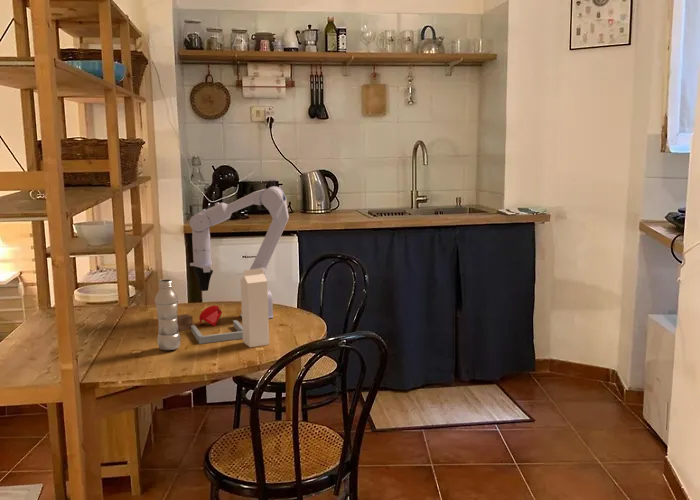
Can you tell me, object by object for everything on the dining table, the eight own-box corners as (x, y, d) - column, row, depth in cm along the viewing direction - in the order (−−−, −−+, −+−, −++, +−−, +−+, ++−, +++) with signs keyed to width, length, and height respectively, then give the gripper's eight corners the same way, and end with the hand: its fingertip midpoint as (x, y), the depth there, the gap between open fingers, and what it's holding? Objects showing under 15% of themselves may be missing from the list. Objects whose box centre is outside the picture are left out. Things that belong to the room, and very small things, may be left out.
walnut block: (187, 326, 220) (186, 313, 219) (193, 328, 217) (192, 316, 216) (175, 328, 217) (175, 316, 217) (181, 331, 214) (180, 318, 214)
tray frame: (237, 326, 219) (236, 320, 218) (248, 337, 206) (247, 331, 206) (191, 331, 213) (191, 325, 213) (199, 344, 201) (199, 337, 200)
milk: (242, 342, 202) (239, 268, 198) (262, 339, 205) (259, 266, 201) (250, 347, 197) (246, 272, 193) (270, 344, 199) (266, 269, 196)
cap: (223, 310, 225) (207, 302, 224) (225, 309, 219) (208, 300, 219) (211, 332, 223) (195, 323, 222) (212, 331, 217) (195, 322, 217)
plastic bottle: (160, 354, 192) (156, 284, 188) (155, 347, 198) (151, 279, 194) (183, 350, 195) (180, 281, 191) (177, 344, 200) (174, 277, 197)
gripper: (185, 247, 231) (187, 286, 233) (193, 253, 217) (195, 295, 220) (206, 245, 233) (208, 284, 236) (215, 252, 220) (217, 293, 222)
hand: (203, 289), depth 228 cm, fingers closed
